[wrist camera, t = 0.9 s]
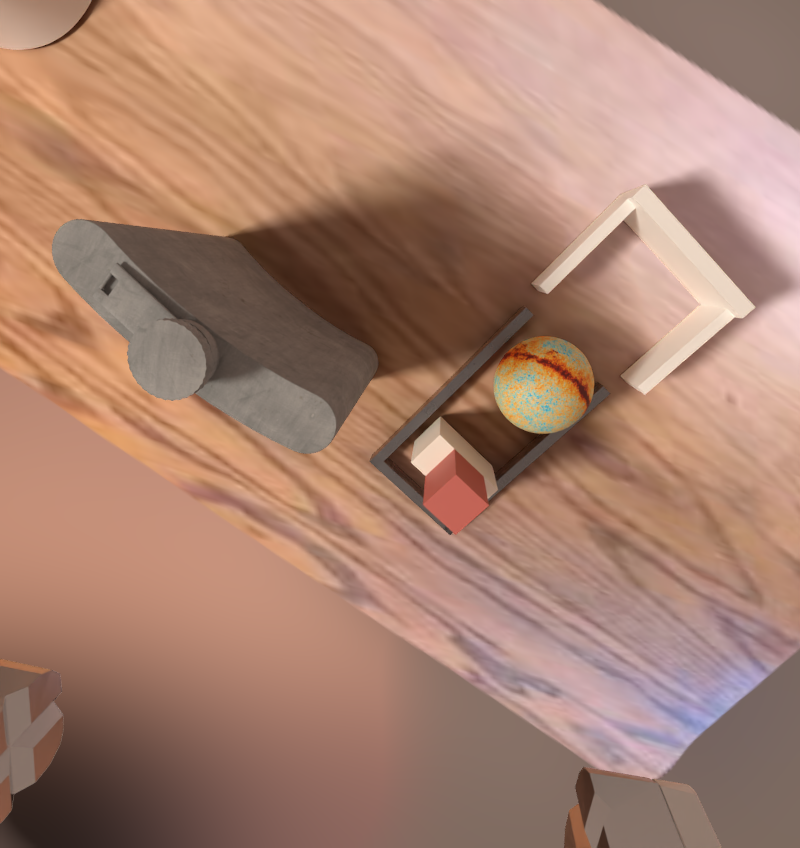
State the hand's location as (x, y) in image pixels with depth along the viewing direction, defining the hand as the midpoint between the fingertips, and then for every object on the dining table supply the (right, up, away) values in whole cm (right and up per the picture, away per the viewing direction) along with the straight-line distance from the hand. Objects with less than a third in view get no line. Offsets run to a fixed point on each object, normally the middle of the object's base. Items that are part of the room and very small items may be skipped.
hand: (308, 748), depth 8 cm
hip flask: (-7, +14, +35) cm, 38 cm away
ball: (+12, +9, +34) cm, 38 cm away
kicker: (+6, +3, +37) cm, 37 cm away
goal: (+18, +15, +32) cm, 40 cm away
